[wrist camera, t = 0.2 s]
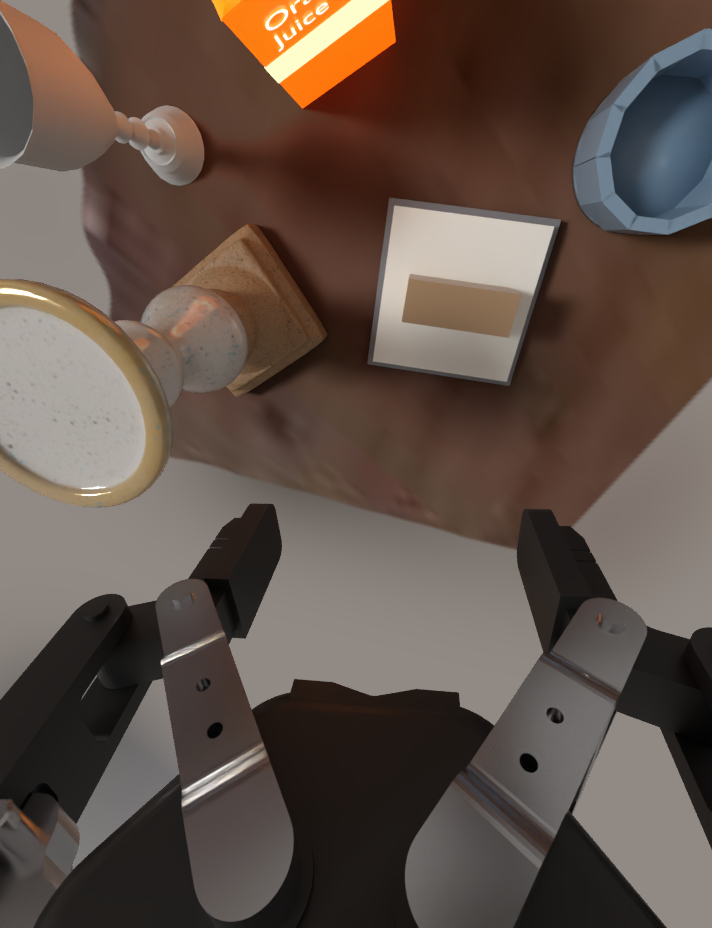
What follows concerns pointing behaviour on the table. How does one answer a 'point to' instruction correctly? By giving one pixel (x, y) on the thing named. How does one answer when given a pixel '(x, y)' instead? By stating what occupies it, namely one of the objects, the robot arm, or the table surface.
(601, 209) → the bowl
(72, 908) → the robot arm
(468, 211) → the mat
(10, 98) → the chalice
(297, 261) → the table surface
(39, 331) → the candle holder
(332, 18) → the orange juice
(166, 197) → the table surface
